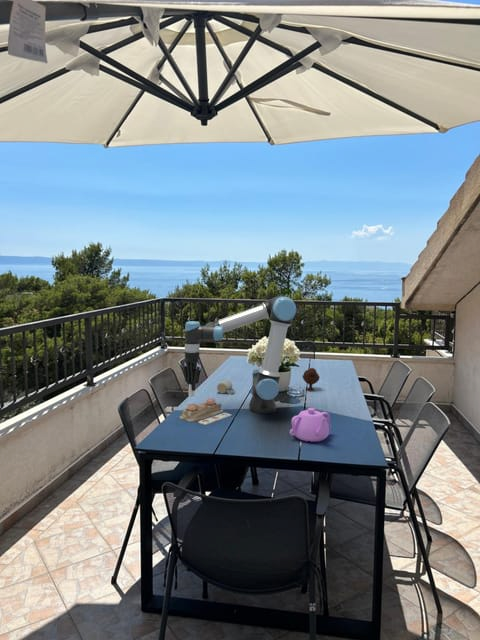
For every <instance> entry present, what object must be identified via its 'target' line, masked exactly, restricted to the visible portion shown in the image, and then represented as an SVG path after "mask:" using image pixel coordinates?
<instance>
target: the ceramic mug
mask: <svg viewBox="0 0 480 640" xmlns="http://www.w3.org/2000/svg"><path fill="white" fill-rule="evenodd" d="M216 389H217V392H218V393H219V394H221V395H222V394H223V395H225V394H226V393H228V394H230V395H234V394H235V389H234V388H233V384H232V381H230V380H229V379H223V380H222V381H220V382H219V383H218V384H217V387H216Z"/></svg>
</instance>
